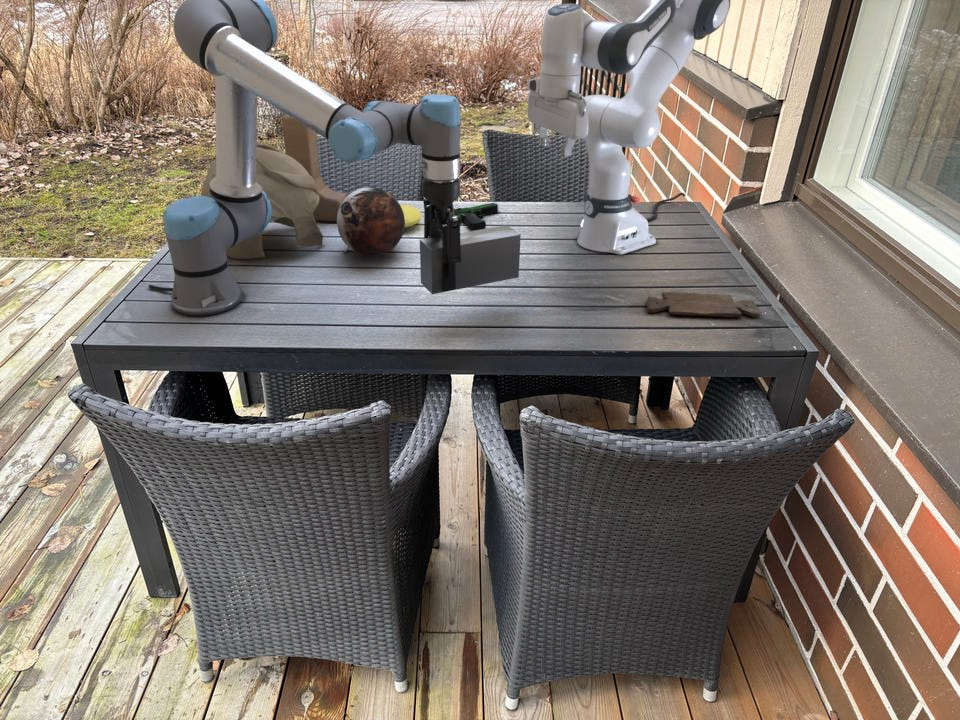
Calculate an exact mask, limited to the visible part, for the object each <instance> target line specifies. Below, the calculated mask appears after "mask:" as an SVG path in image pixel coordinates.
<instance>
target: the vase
mask: <svg viewBox="0 0 960 720" xmlns="http://www.w3.org/2000/svg"><path fill="white" fill-rule="evenodd" d="M400 206H401V208H402V210H403V213H404V218H405V228H404V229H407V228H410V227H412V226H413V225H416V224H418V223H419V222H420V221H421V219H422V217H423V215H422V212H421V211H420V210H419V209H418V208H417V207H414V206H411V205H407V204H400Z"/></svg>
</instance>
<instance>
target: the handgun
mask: <svg viewBox="0 0 960 720" xmlns="http://www.w3.org/2000/svg"><path fill="white" fill-rule="evenodd" d="M454 213H455V216H460V217H461V223H462V222H463V223H465V224H466V225H467V227H468V228H469V229H470V230H471V231H475V230H481V229H486V226H487V222H486V221H485V220H484V219H485V216H486V215H492V214H496V213H497V214H498V213H499V205H498V203H495V202H489V203H485V204H479V205H474V206H469V207H468V206H467V207H458V208H454Z"/></svg>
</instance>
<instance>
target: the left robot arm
mask: <svg viewBox="0 0 960 720" xmlns="http://www.w3.org/2000/svg"><path fill="white" fill-rule="evenodd" d="M173 35H174V38H175V41H176V43H177V44H178V46H179V48H180V51H182V53H183V54H184V55H185V56H186V57H187V58H188V59H189V60H190V61H191V62H193V63H194V64H195V65H196V66H198V67H199V68H201V69H202V70H204V71H206V72H207V73H209V74H211V75H212V76H214V85H215V86H214V88H215V89H214V91H215V94H214V96H215V98H214V99H215V103H214V104H215V161H216V177H215V178H214V179H212V180H211V181H210V184H209V186H210V197H206V196H201V195H194V196H189V197H188V198H187V197H184V198H181V199H178V200H176V201H173V202H171V203H170V204H169V205H168V206H166V208H165V209H164V211H163V214H162V219H163V230H164V231H163V232H164V234H165V238H166V242H167V246H168V247H167V248H168V251H169V255H170V258H171V259H170V260H171V264H172V268H173V272H174V279H173V285H172V287H165V286H157V285H153V284H149V285H148V288H149V289H153V290H156V291H160V292H161V291H162V292H172V294H171V302H172V303H171V304H172V308H173V310H175V311H176V312H177V313H180V314H182V315H186V316H192V317H203V316H212V315H213V316H214V315H217V314H221V313H224V312H228V311H229V310H231V309H234V308H235V307H237V306H238V305H239V304H240V303H241V301H242V300H243V295H242V289H241V287H240V285H239V283H238V281H237V280H236V278H235V276H234V274H233V272H232V270H231V269H230V267H229V262H228V255H226V250H227V249H229V248H231V247H233V246H235V245H237V244H239V243H241V242H243V241H245V240H247V239H249V238H252V237H254V236H255V235H257V234H259V233H260V232H261V231H263V232H264V230H265V229H266V228H267V227H268V225H269V224H270V223H271V222H270V219H271V214H272V210H271V204H270V201H269V200H267V198H266V197H267V195H266V193H265V192H264V191H263V190H262V185H261V184H260V183H259V182H258V181H257V180H256V143H257V142H258V139H257V136H258V135H257V134H258V98H260V99H261V100H263V101H264V102H266V103H268V104H269V105H271V106H272V107H274V108H275V109H277V110H279V111H281V112H282V113H284V115H286V114H287V115H289V116H290V117H292V118H293V119H295V120H297V121H298V122H300V123H302V124H303V125H305V126H306V127H308V128H310V129H311V130H313V131H315V132H316V134H318V135H319V136H321V137H323V138H324V139H325V140H327V141H328V144H329V147H330V149H331V151H332V152H333V153H334V156H335V157H336V158H337V159H339V160H340V161H342V162H345V163H357V162H360V161H363V160H367V159H370V158H371V157H372V156H373V155H375V154H378V153H380V152H382V151H385V150H387V149H389V148H391V147H394V146H396V145H399V144H402V145H409V146H420V147H421V148H420V149H421V162H422V163H420V165H419V166H420V169H421V170H422V171H421V172H422V177H423V179H422V196H423V198H424V199H423V201H422V202H423V210H424V211H423V212H424V213H423V214H424V215H423V239H426V238H433V237H439V236H441V240H442V247H443V255H444V261H441V263H442V284H443V291H444V292H443V293H446V292H445V291H447V292H451V291H450V290H452V291H457V290H456V263H458V262H461V242H460V233H461V223H462V221H461V217H460V216H455V213H454V209H455V207H454V202H455V201H456V200H458V199H459V198H460V196H461V180H460V177H461V125H462V124H461V123H462V120H461V111H460V110H461V108H460V101H459V99H458V98H457V97H455V96H453V95H449V94H428V95H424V96H423V97H421V99H420V103H419V104H411V103H403V102H393V101H389V100H372V101H370V102H368V103H366V107H365V108H364V109H363V111H361V110H358V109H357V108H355V107H354V106H352V105H350V104H348V103H346V102H345V101H344V100H342V99H341V98H339V97H337V96H336V95H334V94H332V93H330V92H329V91H327V90H326V89H324V88H323V87H321V86H320V85H318V84H316V83H314V82H313V81H311V80H310V79H308V78H306V77H305V76H303V75H301V74H300V73H298V72H297V71H295V70H293V69H292V68H290V67H289V66H287V65H286V64H284V63H282V62H281V61H279V60H277V59H276V58H274V57H273V56H271V55H269V54H268V52H270V51H271V50H272V49H273V47H275V45H276V43H277V41H278V35H279V29H278V22H277V20H276V17H275V15H274V12H273V11H272V9H270V7H269V5H268V3H266V2H265V1H264V0H183V2H182V3H181V4H180V5H179V6H178V8H177V10H176V11H175V14H174V17H173ZM269 222H270V223H269Z"/></svg>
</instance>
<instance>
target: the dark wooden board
mask: <svg viewBox="0 0 960 720" xmlns="http://www.w3.org/2000/svg"><path fill="white" fill-rule="evenodd" d="M661 297H662V298H659V297H656V296H648V297H647V301H646V302H647V303H646V309H647V313H650V314H652V313H658V312H663V311H667V310H668V315H674V316H699V317H718V318H719V317H721V318H741V317H742V315H745V316H749V317H751V318H753V317H758V318H759V317H761V316H762V315H761V314H762V313H761V312H760V310H759V308H758V306H757V304H756V303H755V301H754V300H751V299H741V300H738V301H734V300H733V297H732V295H731V294H718V293H696V292H692V293H691V292H671V291H669V292H667V291H666V292H664V291H663V292H661Z"/></svg>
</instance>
